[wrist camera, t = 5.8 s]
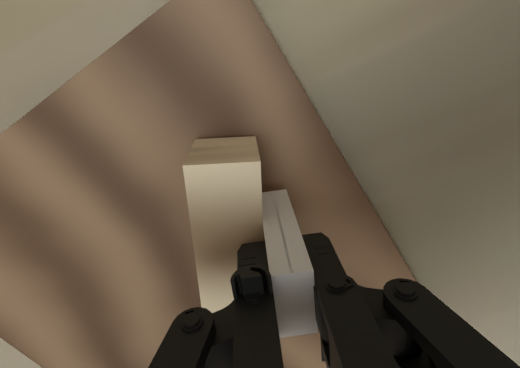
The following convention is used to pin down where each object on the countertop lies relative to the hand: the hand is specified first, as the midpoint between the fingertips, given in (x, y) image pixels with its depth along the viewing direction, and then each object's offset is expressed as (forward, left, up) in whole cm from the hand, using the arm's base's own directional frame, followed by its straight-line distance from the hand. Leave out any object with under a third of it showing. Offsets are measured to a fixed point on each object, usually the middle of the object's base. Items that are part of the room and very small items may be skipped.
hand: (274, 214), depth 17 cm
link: (+6, +6, -1) cm, 9 cm away
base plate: (+7, +4, -3) cm, 9 cm away
